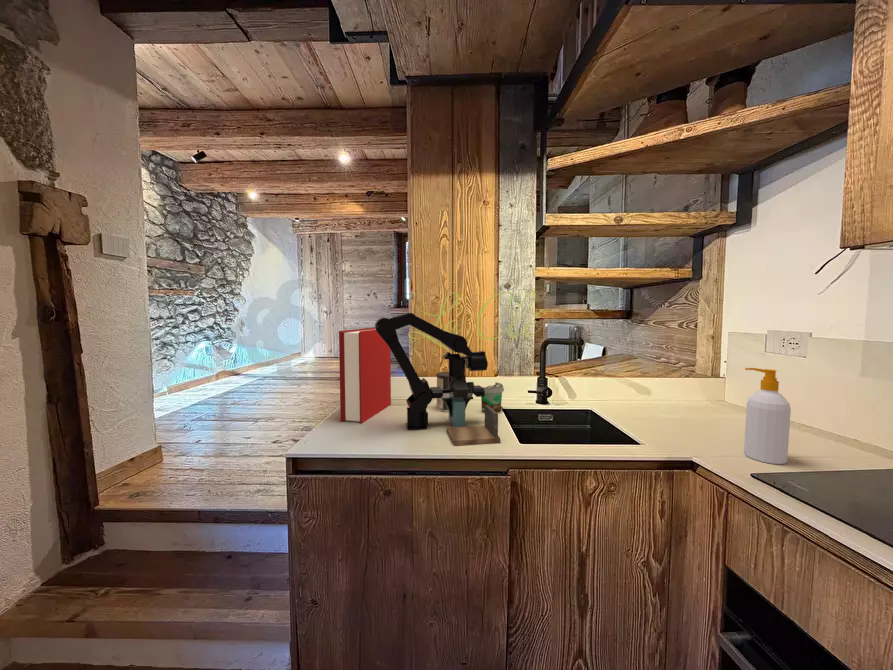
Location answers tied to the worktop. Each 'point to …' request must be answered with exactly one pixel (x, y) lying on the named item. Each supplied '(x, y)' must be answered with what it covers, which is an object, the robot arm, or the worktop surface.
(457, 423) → the teal book
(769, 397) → the soap bottle
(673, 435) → the worktop surface
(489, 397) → the food container
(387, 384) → the book
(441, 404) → the coffee can
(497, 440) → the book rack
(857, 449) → the worktop surface
